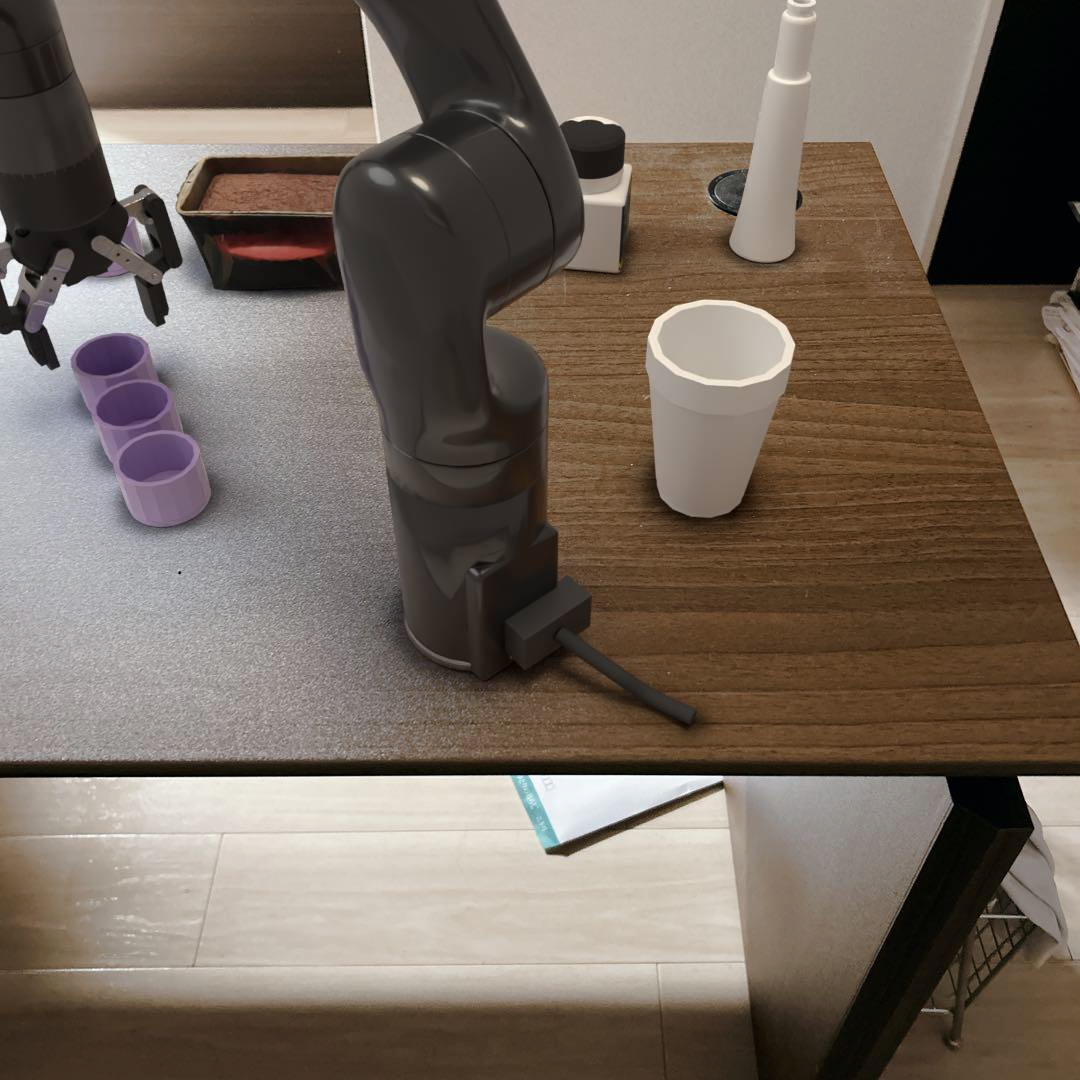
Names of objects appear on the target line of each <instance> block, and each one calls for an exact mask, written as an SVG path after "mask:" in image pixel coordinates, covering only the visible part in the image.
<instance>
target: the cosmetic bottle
mask: <svg viewBox="0 0 1080 1080" xmlns="http://www.w3.org/2000/svg"><path fill="white" fill-rule="evenodd" d="M816 6H817V1H816V0H787V1H786V9H785V10H784V11H783V12H782V14H781V18H780V26H779V30H778V31H779V32H778V39H777V45H776V51H775V58H774V64H773V67H772V68H771V69H770V70H769V71H768V72H767V76H766V79H765V80H766V81H765V84H764V89H763V94H762V99H761V105H760V108H759V115H758V118H757V119H758V120H757V125H756V129H755V135H754V141H753V146H752V151H751V156H750V161H749V164H748V170H747V175H746V180H745V185H744V190H743V193H742V197H741V200H740V204H739V209H738V212H737V216H736V219H735V222H734V225H733V227H732V232H731V234H730V236H729V241H728V243H729V247H730V248H731V250H732V252H734V253H735V254H736V255H737V256H739V257H740V258H743V259H745V260H748V261H751V262H756V263H764V264H765V263H767V264H769V263H777V262H781V261H783V260H786V259H788V258H789V257H790V256H791V255H792V254H793V253H794V251H795V249H796V213H797V199H798V188H799V179H800V172H801V171H800V170H801V164H802V157H803V156H802V155H803V149H804V143H805V142H804V141H805V133H806V126H807V119H808V110H809V104H810V95H811V86H812V74H811V73H810V72H809V67H810V60H811V54H812V48H813V43H814V38H815V37H814V36H815V33H816V32H815V31H816V24H817V20H818V18H817V13H816V11H814V10H815V9H816Z"/></svg>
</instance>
